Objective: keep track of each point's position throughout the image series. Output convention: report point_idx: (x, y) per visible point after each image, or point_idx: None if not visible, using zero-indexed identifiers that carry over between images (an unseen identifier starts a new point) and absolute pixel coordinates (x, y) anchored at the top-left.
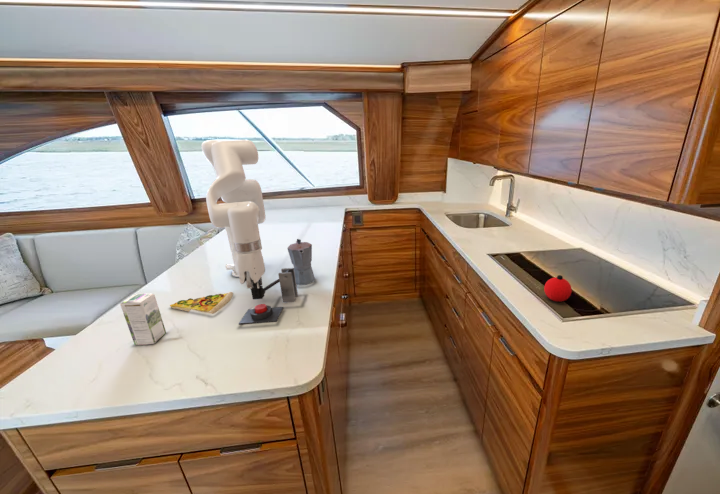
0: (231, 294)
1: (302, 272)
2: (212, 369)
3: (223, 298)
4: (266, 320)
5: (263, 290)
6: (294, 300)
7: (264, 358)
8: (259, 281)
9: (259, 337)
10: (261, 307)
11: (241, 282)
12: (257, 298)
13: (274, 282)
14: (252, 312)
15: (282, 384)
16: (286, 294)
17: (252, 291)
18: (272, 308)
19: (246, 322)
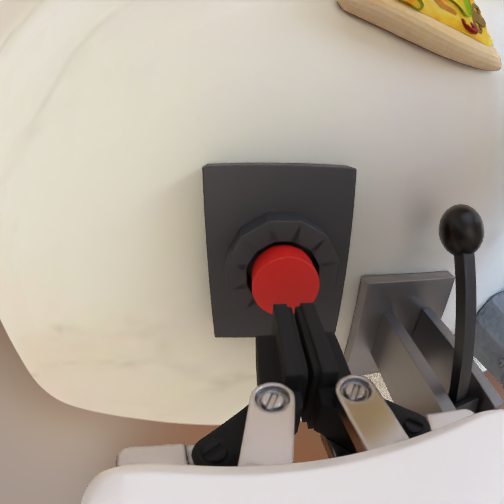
0: (487, 64)
1: (500, 367)
2: (3, 194)
3: (456, 32)
4: (219, 299)
5: (458, 255)
6: (373, 355)
7: (54, 319)
8: (331, 457)
9: (133, 280)
10: (272, 298)
11: (91, 490)
12: (272, 333)
13: (461, 344)
14: (262, 236)
15: (20, 357)
16: (393, 355)
17: (280, 358)
18: (332, 294)
19: (209, 207)
